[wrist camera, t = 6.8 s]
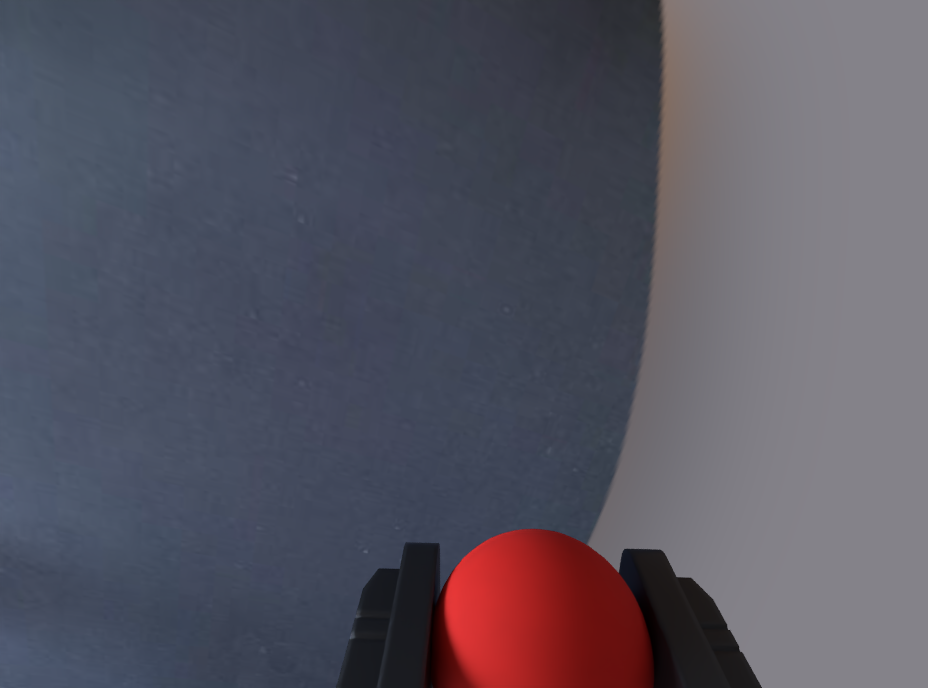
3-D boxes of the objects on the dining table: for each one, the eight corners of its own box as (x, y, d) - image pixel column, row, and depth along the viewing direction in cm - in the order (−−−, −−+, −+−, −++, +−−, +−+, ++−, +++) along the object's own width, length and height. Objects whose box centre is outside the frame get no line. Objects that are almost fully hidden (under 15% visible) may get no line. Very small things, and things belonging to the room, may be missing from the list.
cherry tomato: (462, 468, 10) (453, 651, 6) (644, 510, 10) (744, 711, 6) (419, 607, 11) (391, 827, 7) (581, 641, 11) (633, 872, 8)
